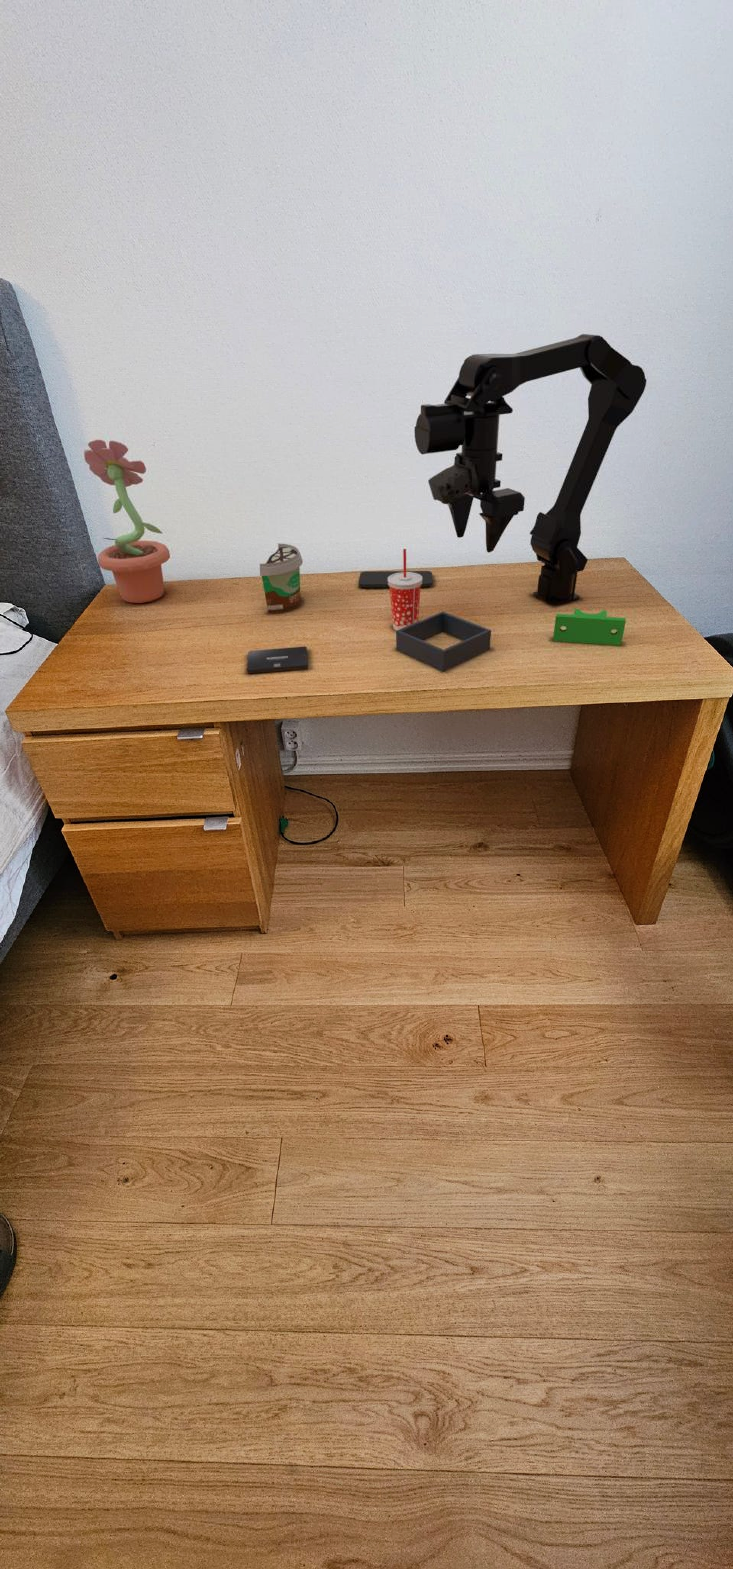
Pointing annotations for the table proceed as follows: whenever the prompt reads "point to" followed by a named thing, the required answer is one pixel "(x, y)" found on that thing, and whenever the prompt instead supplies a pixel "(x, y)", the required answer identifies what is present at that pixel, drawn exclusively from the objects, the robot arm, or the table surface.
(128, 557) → the decorative flower
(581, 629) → the pipe clamp
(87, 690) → the table surface
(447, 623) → the box
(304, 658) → the solid state drive
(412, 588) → the beverage cup
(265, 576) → the food container
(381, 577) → the phone
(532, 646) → the table surface
